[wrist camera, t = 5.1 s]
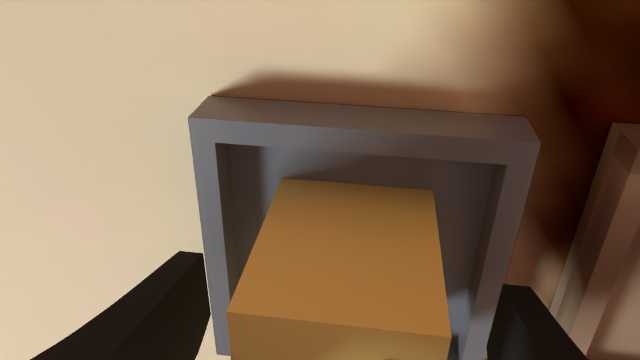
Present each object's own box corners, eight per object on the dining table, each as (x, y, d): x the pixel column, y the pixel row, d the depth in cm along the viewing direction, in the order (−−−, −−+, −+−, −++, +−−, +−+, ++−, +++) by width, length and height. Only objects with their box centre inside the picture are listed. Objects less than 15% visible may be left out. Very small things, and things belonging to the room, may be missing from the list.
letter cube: (415, 305, 15) (423, 476, 10) (284, 291, 15) (238, 449, 11) (433, 190, 13) (452, 341, 8) (281, 178, 13) (224, 315, 9)
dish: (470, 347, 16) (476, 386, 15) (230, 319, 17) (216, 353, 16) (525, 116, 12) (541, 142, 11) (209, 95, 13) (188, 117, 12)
